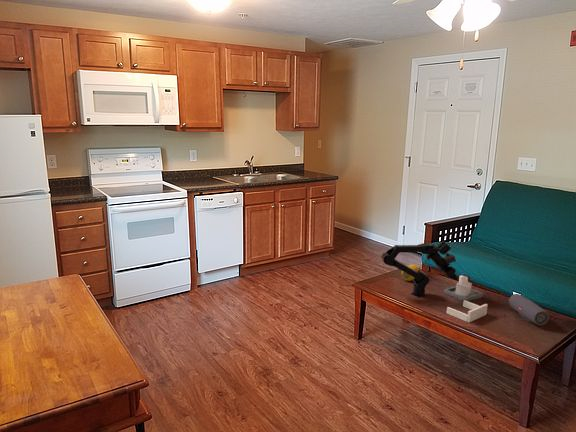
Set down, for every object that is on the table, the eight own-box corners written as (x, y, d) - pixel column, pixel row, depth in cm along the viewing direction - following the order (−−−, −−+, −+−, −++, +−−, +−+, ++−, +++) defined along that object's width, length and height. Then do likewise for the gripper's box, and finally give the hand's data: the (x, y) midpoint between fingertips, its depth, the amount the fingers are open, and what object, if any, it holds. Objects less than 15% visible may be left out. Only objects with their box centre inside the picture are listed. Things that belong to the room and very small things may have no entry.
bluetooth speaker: (506, 309, 248) (508, 293, 246) (521, 308, 249) (524, 292, 247) (531, 327, 226) (534, 310, 224) (548, 327, 227) (551, 309, 225)
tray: (443, 293, 270) (444, 289, 269) (460, 288, 278) (460, 284, 277) (465, 302, 256) (466, 298, 256) (482, 297, 265) (483, 293, 264)
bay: (446, 313, 242) (447, 303, 241) (464, 305, 252) (465, 296, 250) (468, 322, 231) (470, 312, 230) (486, 314, 241) (487, 304, 240)
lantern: (418, 258, 302) (394, 267, 283) (431, 264, 296) (406, 274, 276) (414, 270, 306) (390, 280, 287) (426, 277, 300) (402, 288, 280)
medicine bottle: (459, 290, 272) (460, 272, 269) (470, 293, 267) (472, 275, 265) (454, 294, 267) (456, 275, 264) (466, 297, 262) (468, 278, 259)
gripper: (454, 255, 252) (470, 273, 254) (442, 246, 270) (458, 263, 272) (439, 268, 253) (456, 286, 256) (429, 258, 271) (444, 274, 274)
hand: (454, 276), depth 264 cm, fingers open, 9 cm apart
